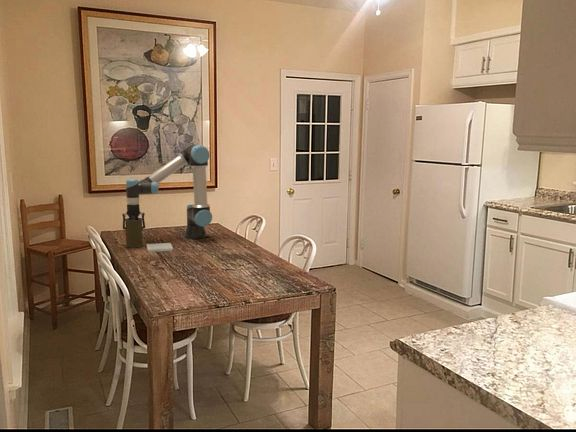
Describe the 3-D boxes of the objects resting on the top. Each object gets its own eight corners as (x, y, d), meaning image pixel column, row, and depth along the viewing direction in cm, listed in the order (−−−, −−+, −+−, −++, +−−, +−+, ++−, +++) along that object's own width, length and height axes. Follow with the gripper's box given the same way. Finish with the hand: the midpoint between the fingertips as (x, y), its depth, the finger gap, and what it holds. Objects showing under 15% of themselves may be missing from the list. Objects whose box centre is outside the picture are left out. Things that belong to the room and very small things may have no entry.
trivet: (170, 245, 317) (170, 242, 317) (173, 250, 303) (172, 248, 303) (146, 246, 312) (146, 243, 312) (147, 252, 298) (147, 249, 298)
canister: (140, 247, 307) (139, 216, 303) (123, 247, 307) (122, 216, 303) (145, 243, 317) (144, 213, 314) (129, 243, 317) (128, 213, 314)
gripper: (148, 202, 314) (149, 237, 318) (116, 203, 308) (118, 239, 312) (149, 204, 307) (150, 240, 311) (116, 205, 301) (118, 241, 305)
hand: (134, 239), depth 311 cm, fingers open, 6 cm apart
